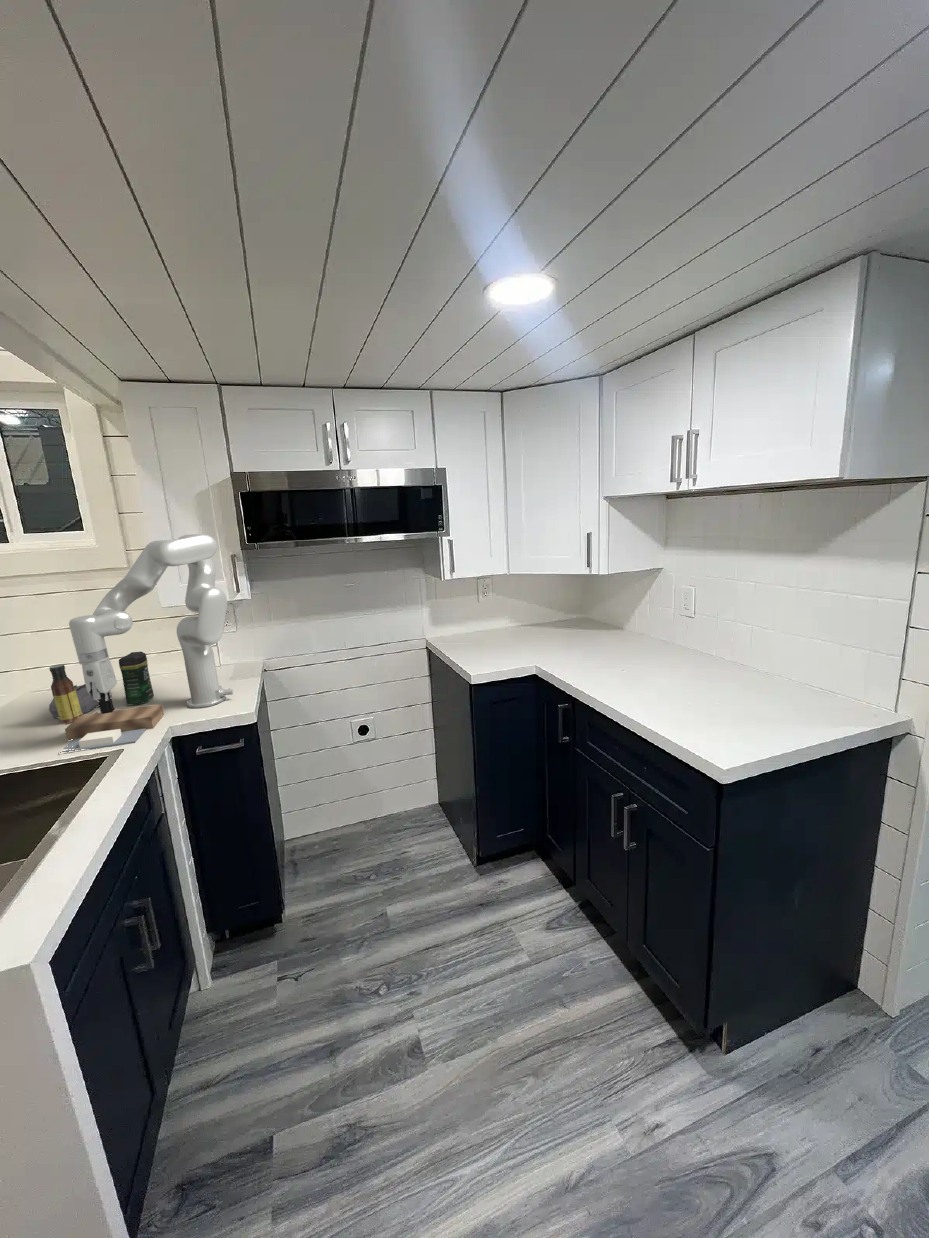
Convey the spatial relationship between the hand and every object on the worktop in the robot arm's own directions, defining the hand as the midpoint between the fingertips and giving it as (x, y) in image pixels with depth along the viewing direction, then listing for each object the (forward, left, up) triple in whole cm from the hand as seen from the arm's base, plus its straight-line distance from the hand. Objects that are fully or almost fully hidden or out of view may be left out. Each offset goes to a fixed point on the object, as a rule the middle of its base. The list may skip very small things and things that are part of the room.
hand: (108, 711), depth 163 cm
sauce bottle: (+20, -20, -8) cm, 29 cm away
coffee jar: (+2, -32, -8) cm, 33 cm away
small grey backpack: (+22, -33, -8) cm, 41 cm away
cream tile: (+1, +5, -5) cm, 8 cm away
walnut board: (+1, -6, -8) cm, 10 cm away
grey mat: (+1, +5, -8) cm, 9 cm away
